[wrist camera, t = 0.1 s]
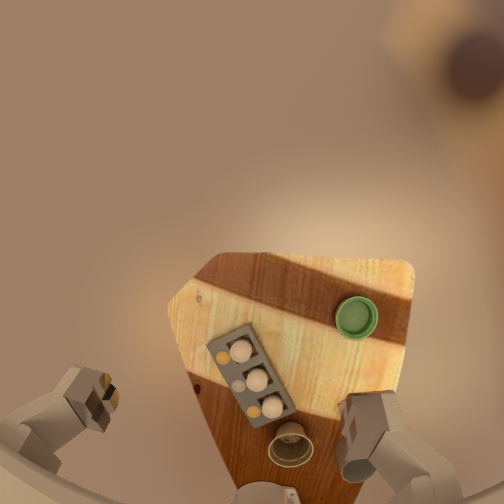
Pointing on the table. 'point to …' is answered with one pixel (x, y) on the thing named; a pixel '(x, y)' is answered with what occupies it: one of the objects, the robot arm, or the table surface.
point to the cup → (353, 466)
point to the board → (238, 376)
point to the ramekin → (356, 317)
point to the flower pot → (290, 446)
